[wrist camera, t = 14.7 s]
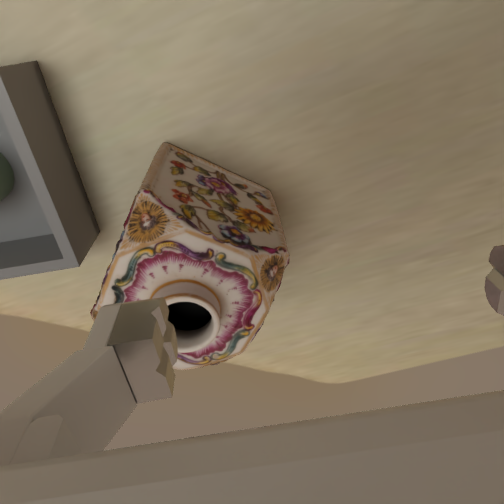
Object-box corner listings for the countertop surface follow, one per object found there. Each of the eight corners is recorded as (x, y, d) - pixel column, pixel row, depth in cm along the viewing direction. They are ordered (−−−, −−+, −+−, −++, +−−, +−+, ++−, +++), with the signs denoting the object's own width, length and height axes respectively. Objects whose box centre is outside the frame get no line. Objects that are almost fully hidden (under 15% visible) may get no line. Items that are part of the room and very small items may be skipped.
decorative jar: (163, 136, 38) (123, 215, 22) (274, 187, 41) (308, 288, 25) (122, 241, 43) (64, 367, 27) (224, 280, 46) (226, 413, 30)
